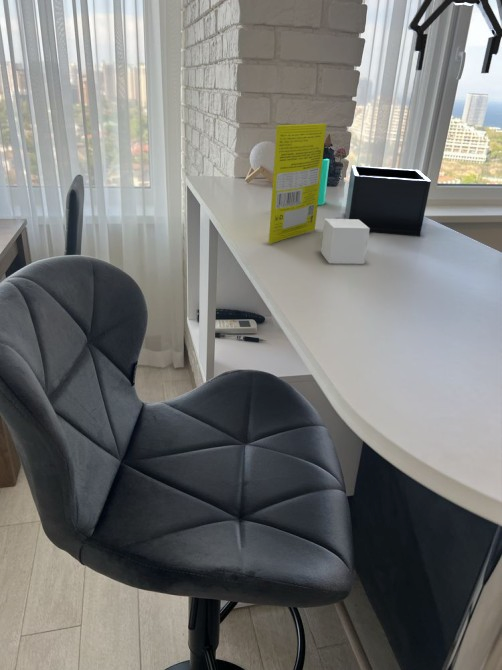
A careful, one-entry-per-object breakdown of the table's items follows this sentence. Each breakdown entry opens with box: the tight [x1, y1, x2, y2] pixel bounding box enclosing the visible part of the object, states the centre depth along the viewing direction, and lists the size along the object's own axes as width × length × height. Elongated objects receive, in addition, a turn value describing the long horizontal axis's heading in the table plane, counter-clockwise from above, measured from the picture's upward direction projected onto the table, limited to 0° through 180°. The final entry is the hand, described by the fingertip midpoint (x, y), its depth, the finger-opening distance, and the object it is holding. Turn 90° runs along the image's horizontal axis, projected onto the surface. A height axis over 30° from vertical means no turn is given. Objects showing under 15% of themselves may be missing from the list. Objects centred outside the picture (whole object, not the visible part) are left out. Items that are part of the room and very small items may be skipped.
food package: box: [268, 123, 327, 245], centre depth 92 cm, size 15×1×20 cm, turn 141°
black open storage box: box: [344, 165, 432, 237], centre depth 107 cm, size 15×15×11 cm
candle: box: [318, 158, 330, 206], centre depth 124 cm, size 6×6×12 cm
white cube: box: [320, 218, 370, 265], centre depth 85 cm, size 6×6×6 cm
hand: (451, 71), depth 106 cm, fingers open, 13 cm apart
